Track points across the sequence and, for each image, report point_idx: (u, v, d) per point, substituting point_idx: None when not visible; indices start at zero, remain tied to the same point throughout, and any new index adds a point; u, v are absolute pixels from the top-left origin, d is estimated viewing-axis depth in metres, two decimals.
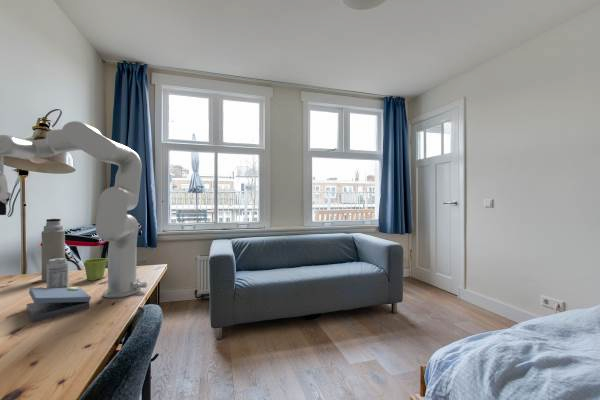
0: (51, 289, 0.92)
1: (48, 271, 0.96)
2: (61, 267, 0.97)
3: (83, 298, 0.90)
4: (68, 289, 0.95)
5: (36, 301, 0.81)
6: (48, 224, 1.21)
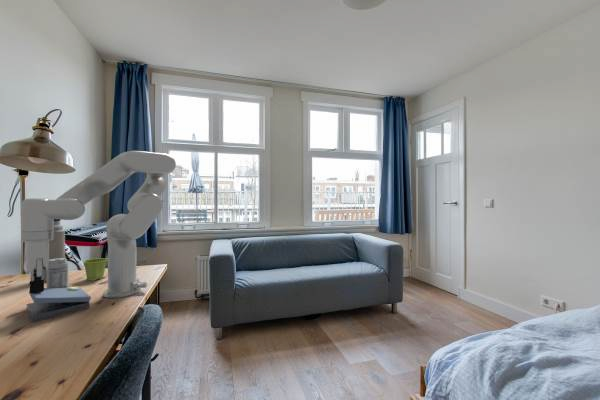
0: (51, 289, 0.92)
1: (48, 271, 0.96)
2: (61, 267, 0.97)
3: (83, 298, 0.90)
4: (68, 289, 0.95)
5: (36, 301, 0.81)
6: None
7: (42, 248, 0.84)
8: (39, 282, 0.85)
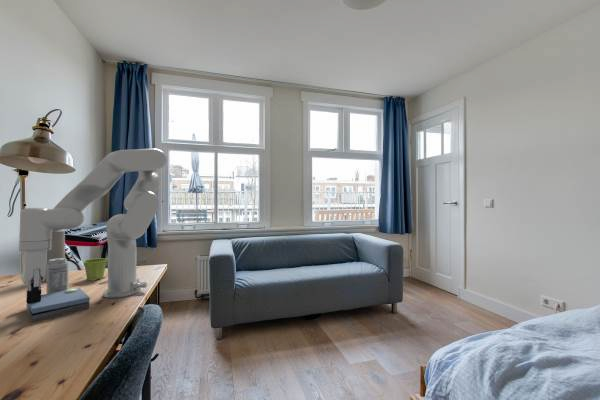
0: (49, 295, 0.92)
1: (48, 271, 0.96)
2: (61, 267, 0.97)
3: (82, 299, 0.90)
4: (66, 292, 0.94)
5: (33, 311, 0.81)
6: None
7: (40, 258, 0.83)
8: (36, 292, 0.85)
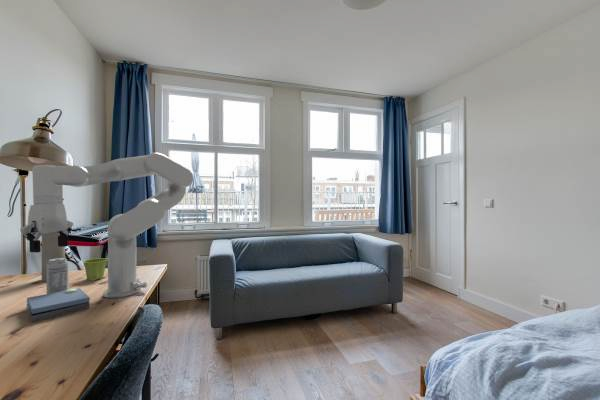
0: (48, 295, 0.92)
1: (48, 271, 0.96)
2: (61, 267, 0.97)
3: (82, 299, 0.90)
4: (66, 292, 0.94)
5: (33, 312, 0.81)
6: None
7: (36, 211, 0.88)
8: (33, 242, 0.87)
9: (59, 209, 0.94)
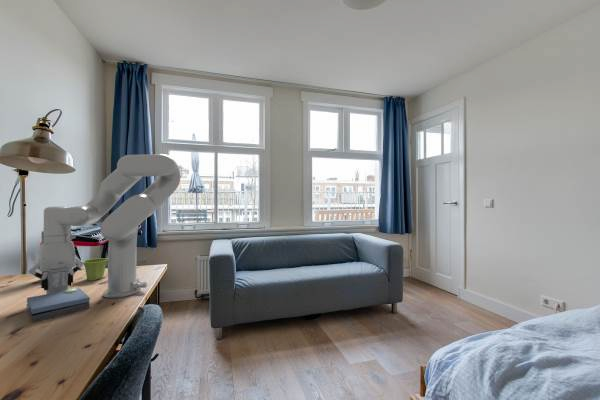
0: (48, 295, 0.92)
1: None
2: (61, 267, 0.97)
3: (82, 299, 0.90)
4: (66, 292, 0.94)
5: (33, 312, 0.81)
6: None
7: (40, 250, 0.95)
8: (41, 281, 0.95)
9: (64, 248, 0.98)
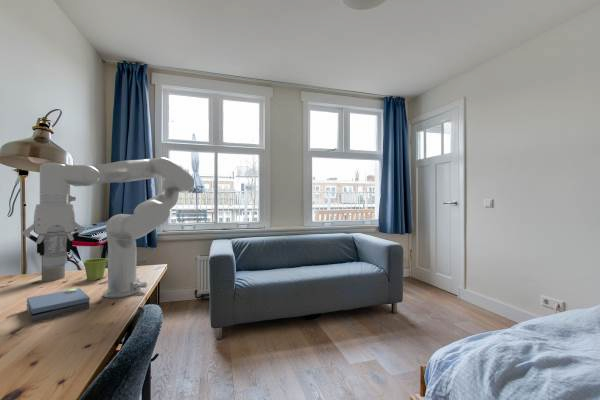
0: (48, 295, 0.92)
1: None
2: (58, 230, 0.87)
3: (82, 299, 0.90)
4: (66, 292, 0.94)
5: (33, 312, 0.81)
6: None
7: (35, 211, 0.85)
8: (37, 245, 0.85)
9: (62, 210, 0.88)
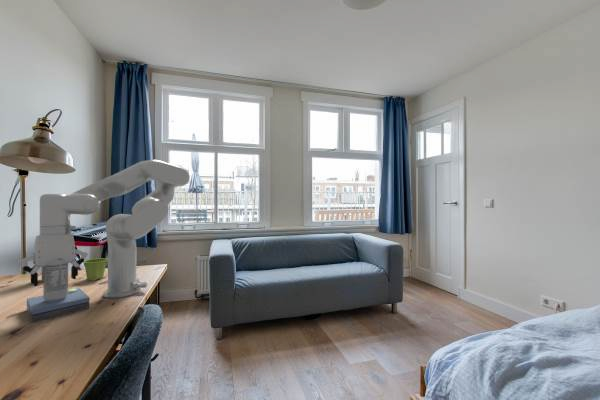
0: None
1: (46, 268, 0.86)
2: (60, 264, 0.87)
3: (82, 300, 0.90)
4: None
5: (33, 313, 0.81)
6: None
7: (35, 243, 0.84)
8: (31, 275, 0.84)
9: (63, 240, 0.88)
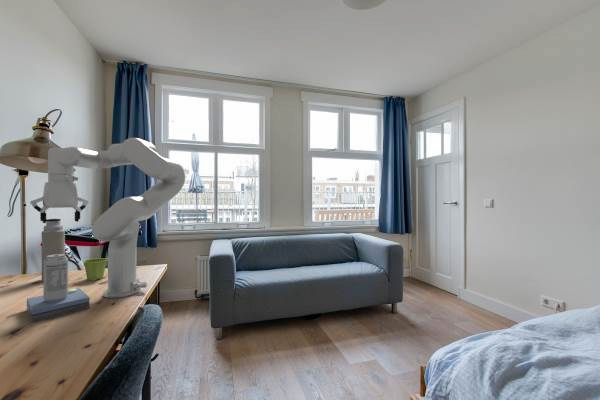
0: None
1: (46, 268, 0.86)
2: (60, 264, 0.87)
3: (82, 300, 0.90)
4: None
5: (33, 313, 0.81)
6: (48, 224, 1.21)
7: (45, 187, 1.01)
8: (41, 214, 1.00)
9: (67, 187, 1.05)
